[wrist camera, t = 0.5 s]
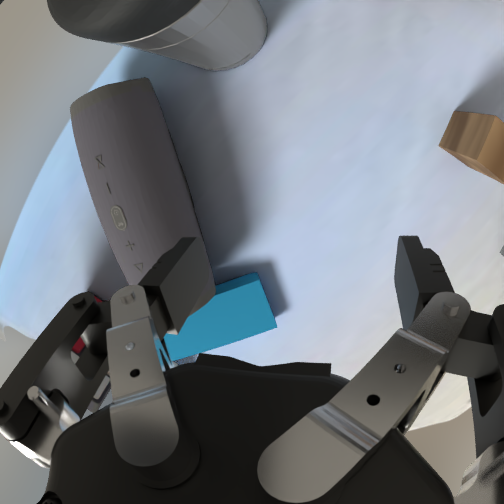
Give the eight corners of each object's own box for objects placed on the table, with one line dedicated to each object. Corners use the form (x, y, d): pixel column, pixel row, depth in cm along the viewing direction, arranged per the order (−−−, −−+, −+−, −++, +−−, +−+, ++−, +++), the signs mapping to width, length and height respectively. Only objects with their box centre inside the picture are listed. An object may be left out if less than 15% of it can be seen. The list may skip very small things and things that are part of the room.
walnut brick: (438, 145, 27) (476, 160, 19) (453, 110, 25) (495, 115, 17) (468, 166, 27) (509, 187, 20) (483, 133, 25) (527, 145, 17)
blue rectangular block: (252, 256, 41) (131, 300, 42) (259, 279, 35) (119, 328, 35) (268, 299, 44) (154, 337, 44) (277, 327, 37) (146, 368, 38)
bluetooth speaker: (103, 109, 31) (44, 117, 22) (172, 78, 28) (122, 71, 20) (163, 280, 40) (127, 328, 31) (230, 270, 37) (207, 322, 28)
